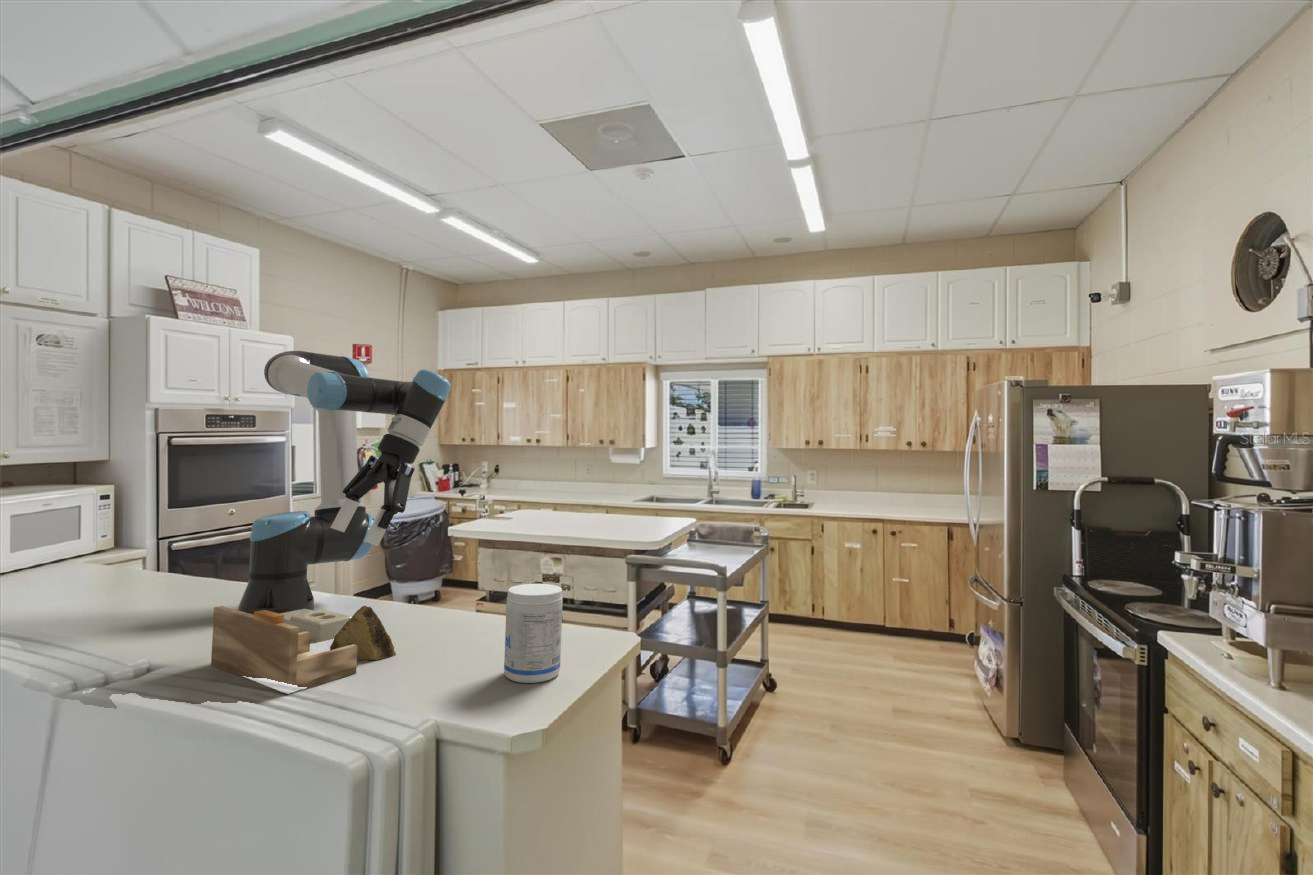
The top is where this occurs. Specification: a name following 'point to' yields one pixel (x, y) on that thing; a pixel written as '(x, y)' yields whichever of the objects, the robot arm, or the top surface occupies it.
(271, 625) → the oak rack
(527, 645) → the supplement tub
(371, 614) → the rock
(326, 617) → the grey cinder block
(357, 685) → the top surface
